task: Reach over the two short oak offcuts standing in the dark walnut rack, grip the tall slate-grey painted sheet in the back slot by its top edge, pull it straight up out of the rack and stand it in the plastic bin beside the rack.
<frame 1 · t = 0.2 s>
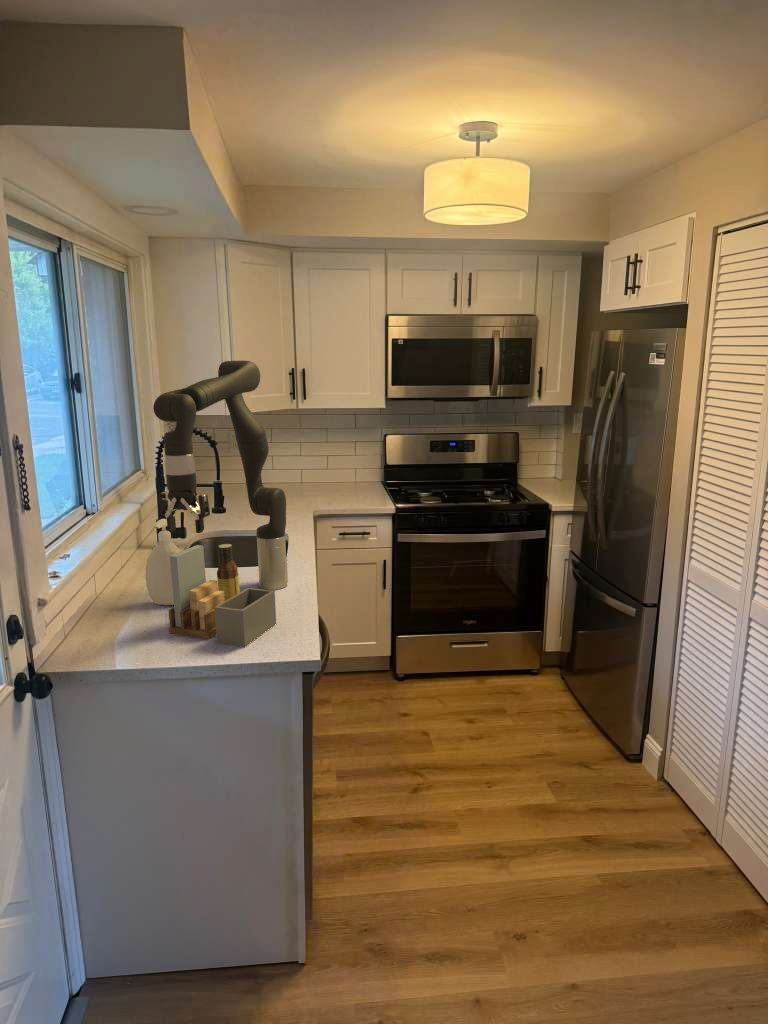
hand: (185, 531, 176), 29 cm above the countertop, tool pointing down, fingers open, 8 cm apart
rack: (204, 627, 186), on the countertop
bin: (247, 633, 181), on the countertop
sauce bottle: (230, 608, 201), on the countertop
soap bottle: (169, 605, 205), on the countertop
tall sheet: (192, 619, 187), point 2 cm above the countertop, touching rack
oak offcut: (205, 619, 187), point 2 cm above the countertop, touching rack
beech offcut: (213, 623, 184), point 2 cm above the countertop, touching rack
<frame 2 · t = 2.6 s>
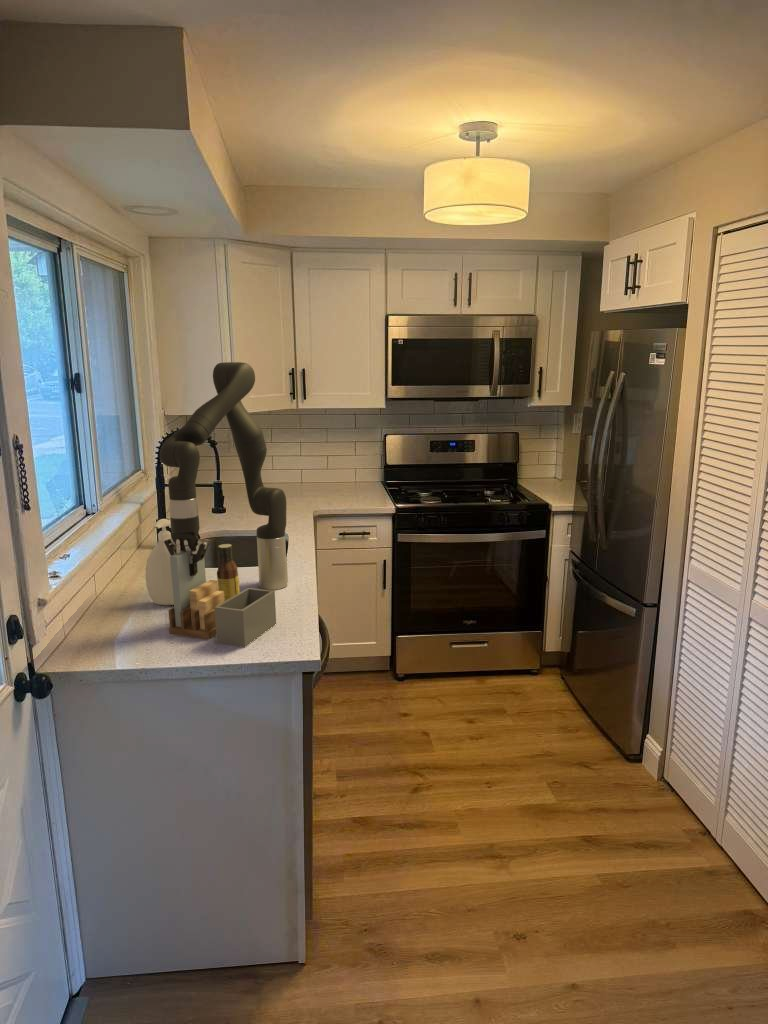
hand: (188, 574, 184), 15 cm above the countertop, tool pointing down, fingers closed on tall sheet, 2 cm apart
tall sheet: (192, 619, 187), point 2 cm above the countertop, touching gripper, rack
everything else where it was.
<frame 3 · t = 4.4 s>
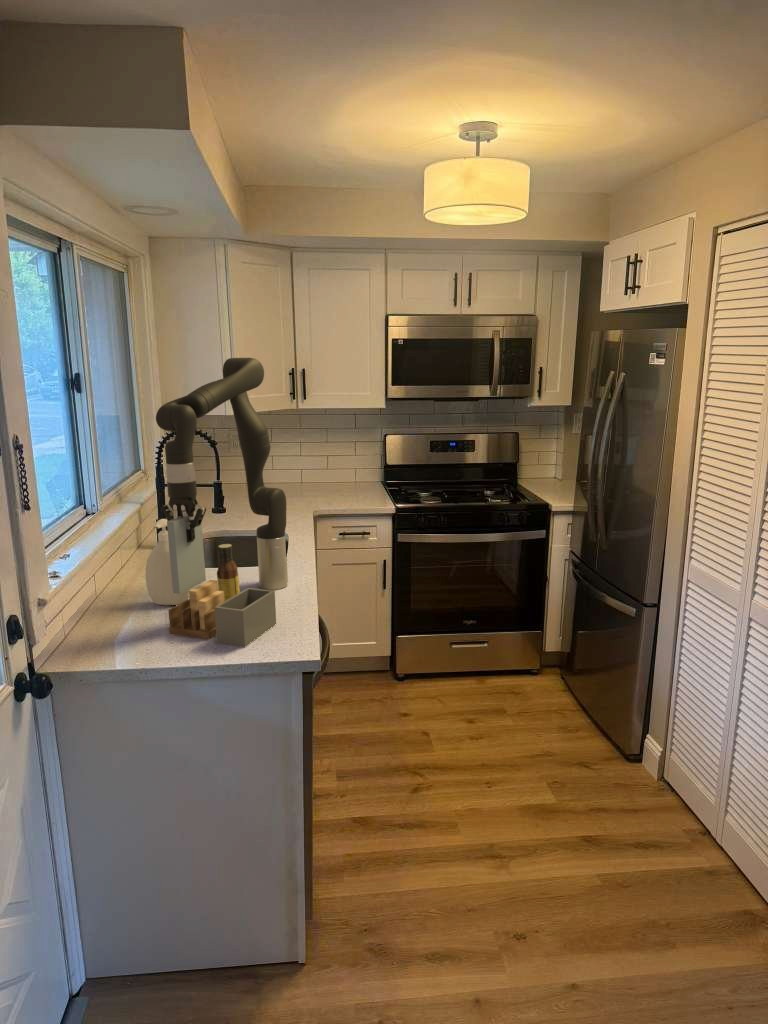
hand: (186, 541, 182), 25 cm above the countertop, tool pointing down, fingers closed on tall sheet
tall sheet: (189, 586, 185), point 12 cm above the countertop, touching gripper
everything else where it was.
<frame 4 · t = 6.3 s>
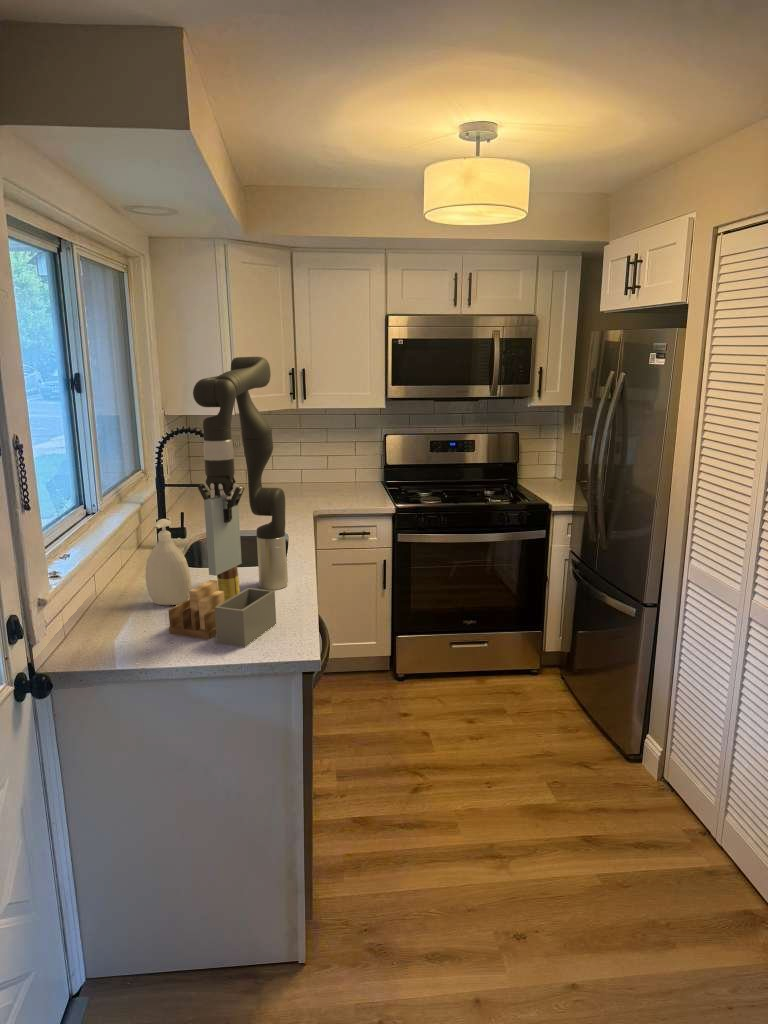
hand: (223, 521, 177), 31 cm above the countertop, tool pointing down, fingers closed on tall sheet
tall sheet: (225, 568, 179), point 18 cm above the countertop, touching gripper
everything else where it was.
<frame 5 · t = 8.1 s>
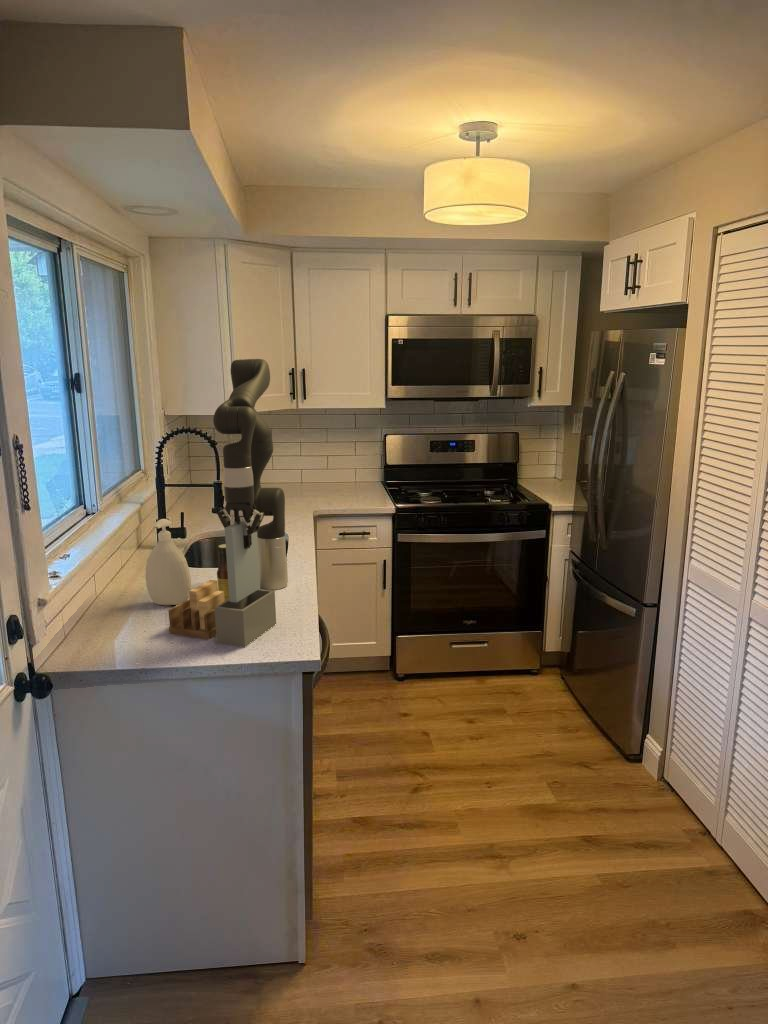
hand: (242, 547, 176), 24 cm above the countertop, tool pointing down, fingers closed on tall sheet
tall sheet: (245, 594, 179), point 11 cm above the countertop, touching gripper
everything else where it was.
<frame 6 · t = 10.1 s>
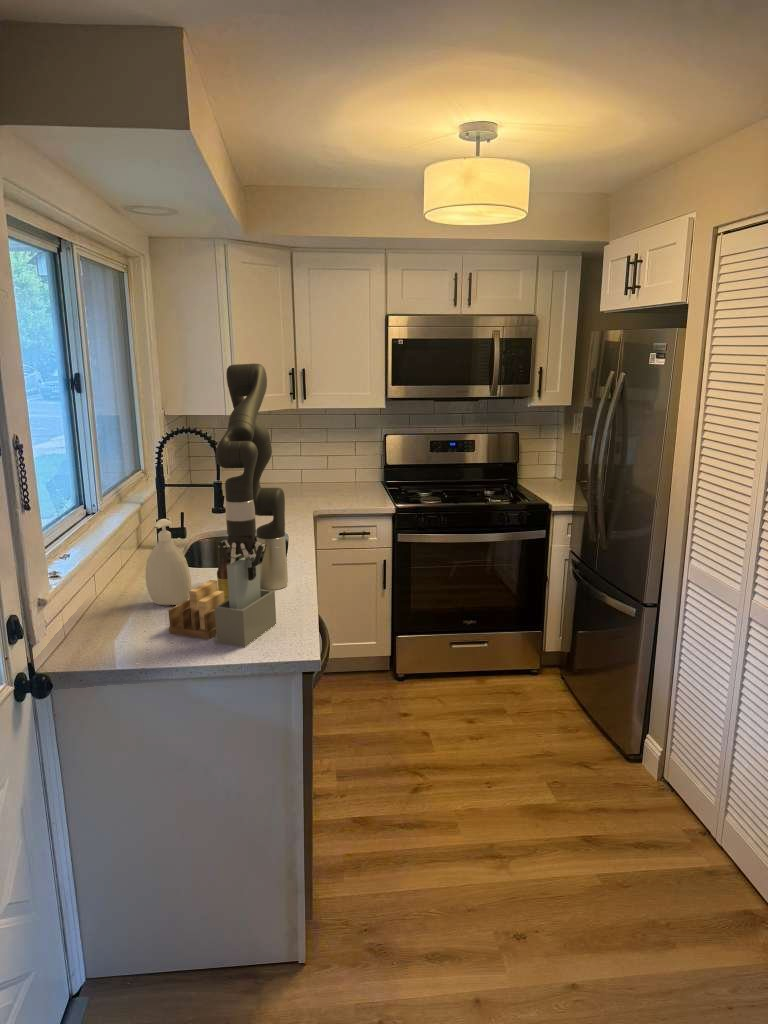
hand: (244, 578, 178), 16 cm above the countertop, tool pointing down, fingers open, 4 cm apart
tall sheet: (247, 630, 181), point 1 cm above the countertop, touching bin
everything else where it was.
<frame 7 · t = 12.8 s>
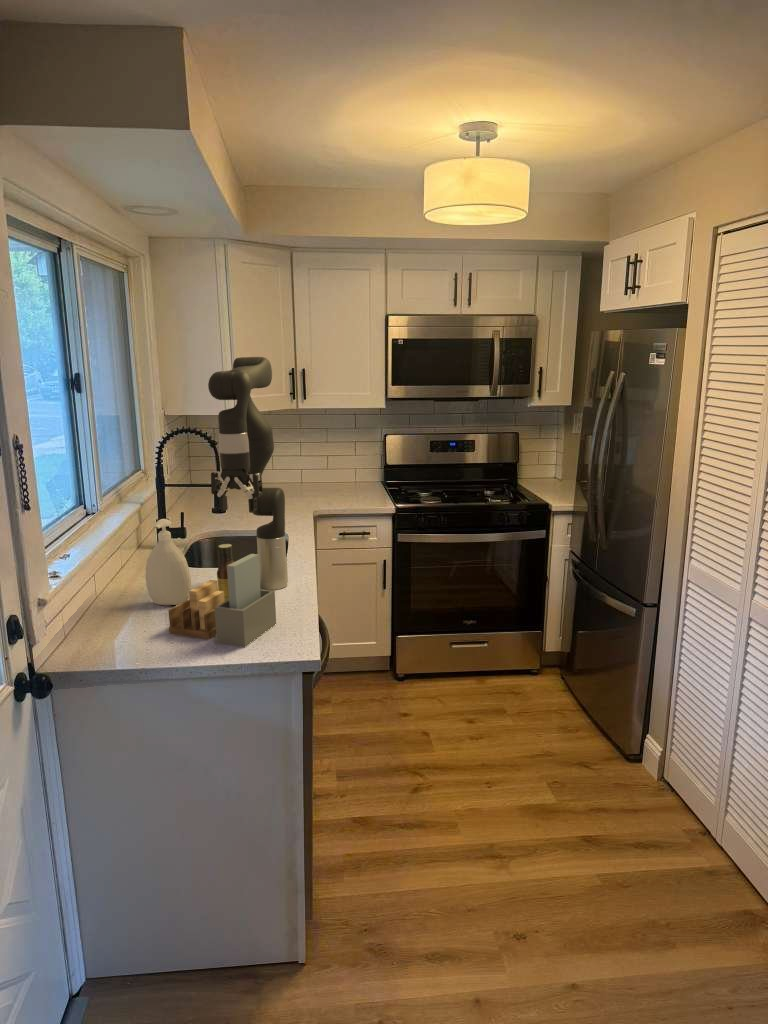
hand: (238, 511, 175), 34 cm above the countertop, tool pointing down, fingers open, 8 cm apart
nothing on the countertop moved.
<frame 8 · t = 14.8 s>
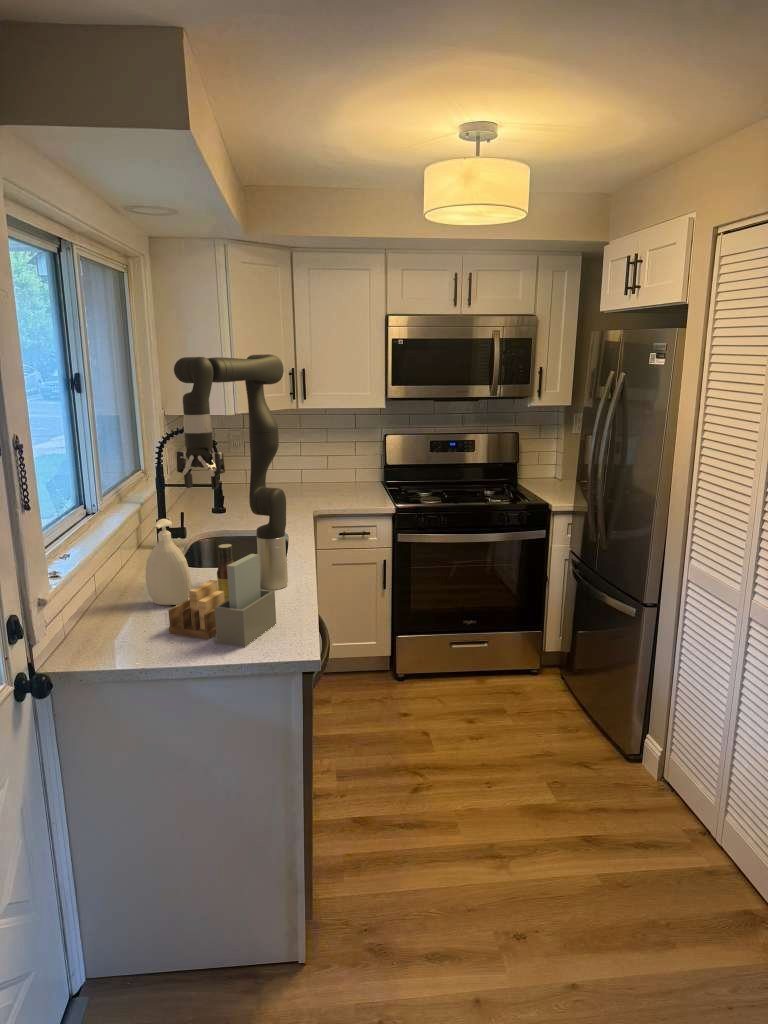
hand: (202, 488, 187), 38 cm above the countertop, tool pointing down, fingers open, 8 cm apart
nothing on the countertop moved.
at the end: tall sheet inside the target area on the bin (0.1 cm from its centre), point 1.0 cm above the bin's base; the gripper is holding nothing; oak offcut moved 0.1 cm from its start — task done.
